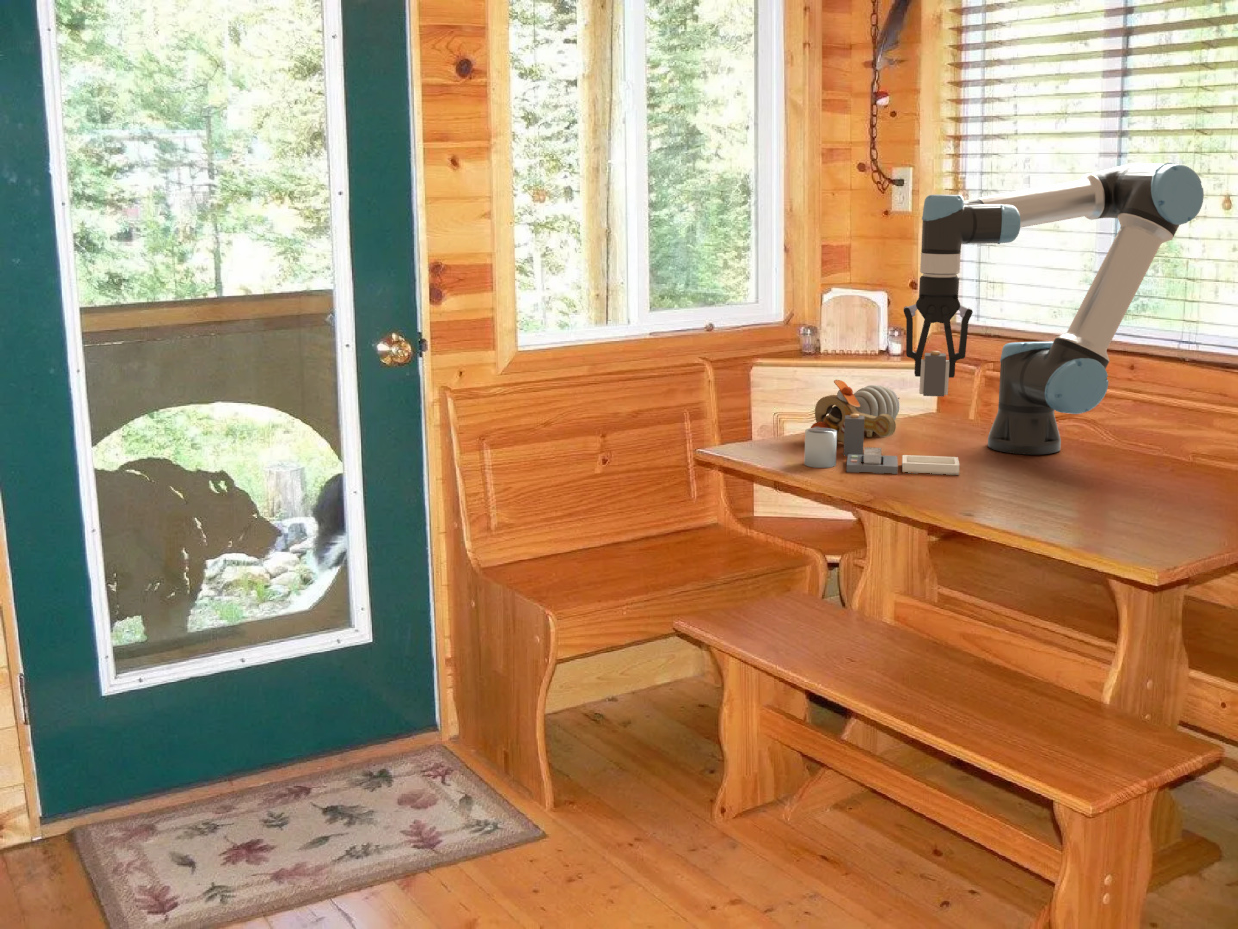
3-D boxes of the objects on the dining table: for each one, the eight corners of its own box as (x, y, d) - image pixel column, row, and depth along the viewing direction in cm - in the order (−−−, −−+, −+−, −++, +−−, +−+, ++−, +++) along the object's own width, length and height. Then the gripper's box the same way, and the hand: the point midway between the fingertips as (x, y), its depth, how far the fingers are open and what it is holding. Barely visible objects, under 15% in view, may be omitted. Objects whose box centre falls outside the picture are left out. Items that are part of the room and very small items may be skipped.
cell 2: (943, 393, 282) (945, 350, 280) (944, 396, 279) (946, 353, 277) (922, 392, 283) (924, 349, 281) (923, 395, 279) (925, 352, 277)
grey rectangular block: (880, 457, 289) (881, 447, 289) (880, 464, 282) (881, 455, 282) (864, 456, 290) (864, 447, 289) (863, 464, 283) (863, 454, 282)
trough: (957, 466, 287) (957, 457, 286) (959, 475, 280) (959, 465, 279) (902, 464, 289) (902, 455, 288) (902, 472, 282) (902, 463, 281)
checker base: (897, 463, 290) (897, 454, 290) (897, 474, 281) (897, 465, 280) (847, 461, 292) (848, 452, 292) (846, 472, 282) (846, 463, 282)
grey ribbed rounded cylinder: (912, 432, 322) (914, 383, 319) (868, 442, 310) (870, 392, 308) (873, 425, 329) (875, 378, 327) (829, 435, 317) (831, 387, 315)
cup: (836, 461, 292) (837, 427, 290) (835, 468, 285) (836, 434, 284) (805, 460, 293) (806, 426, 291) (803, 467, 287) (804, 432, 285)
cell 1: (863, 452, 300) (864, 413, 298) (862, 456, 296) (864, 416, 294) (844, 452, 301) (845, 412, 299) (843, 456, 297) (844, 415, 295)
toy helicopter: (828, 436, 316) (830, 376, 313) (904, 451, 302) (907, 387, 299) (804, 441, 311) (806, 380, 308) (881, 456, 296) (883, 392, 293)
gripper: (983, 274, 278) (976, 391, 283) (894, 272, 281) (889, 388, 286) (985, 277, 270) (978, 398, 276) (895, 275, 273) (889, 395, 279)
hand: (933, 393), depth 281 cm, fingers closed on cell 2, 4 cm apart
